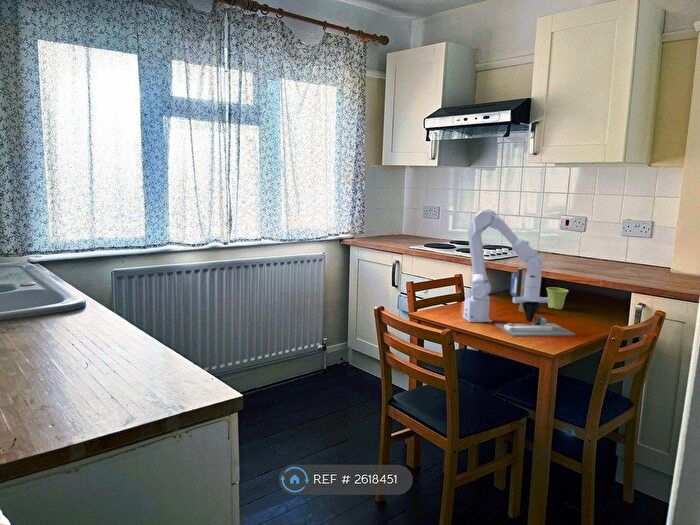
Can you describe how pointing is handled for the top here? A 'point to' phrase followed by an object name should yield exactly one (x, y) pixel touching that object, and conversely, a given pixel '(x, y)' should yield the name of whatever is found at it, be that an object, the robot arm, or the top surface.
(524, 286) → the olive tapered shaker
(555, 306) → the plant pot
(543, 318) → the teal block
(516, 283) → the protein box
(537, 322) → the black knobbed slide plate
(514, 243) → the robot arm
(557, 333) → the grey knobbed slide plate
